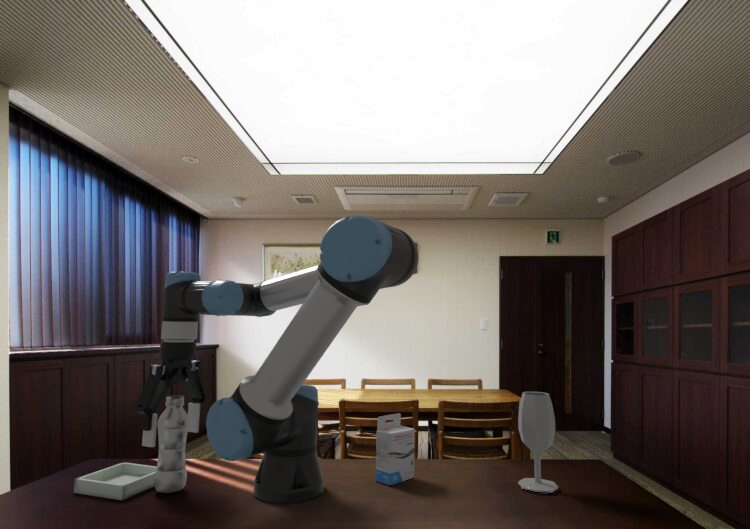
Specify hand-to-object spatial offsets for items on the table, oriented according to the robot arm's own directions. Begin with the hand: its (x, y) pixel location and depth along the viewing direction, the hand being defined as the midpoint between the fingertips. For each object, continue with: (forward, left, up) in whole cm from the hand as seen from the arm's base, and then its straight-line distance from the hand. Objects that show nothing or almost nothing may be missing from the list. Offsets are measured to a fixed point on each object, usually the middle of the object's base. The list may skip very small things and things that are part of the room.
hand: (171, 438), depth 105 cm
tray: (+12, +1, -11) cm, 16 cm away
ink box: (-44, -24, -11) cm, 52 cm away
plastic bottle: (0, 0, -11) cm, 11 cm away
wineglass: (-76, -30, -11) cm, 83 cm away
